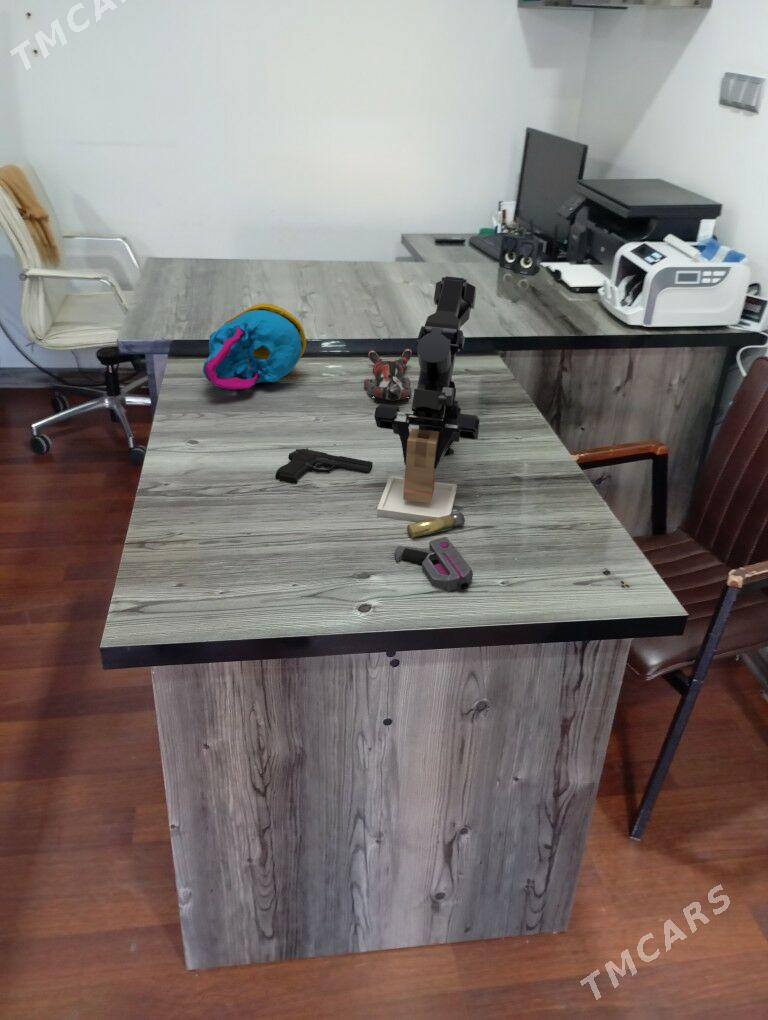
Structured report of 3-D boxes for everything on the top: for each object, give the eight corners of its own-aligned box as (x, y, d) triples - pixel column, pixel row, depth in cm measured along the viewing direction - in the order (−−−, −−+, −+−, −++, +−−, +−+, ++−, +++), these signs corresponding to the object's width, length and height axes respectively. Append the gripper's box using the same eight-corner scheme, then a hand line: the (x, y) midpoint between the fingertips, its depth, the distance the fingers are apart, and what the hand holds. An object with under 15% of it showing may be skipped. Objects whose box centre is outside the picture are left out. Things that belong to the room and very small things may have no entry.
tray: (389, 482, 161) (389, 475, 160) (456, 491, 159) (457, 484, 158) (376, 516, 150) (377, 509, 149) (448, 526, 148) (449, 519, 147)
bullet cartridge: (456, 521, 149) (458, 509, 148) (464, 527, 148) (465, 516, 146) (406, 533, 145) (407, 522, 144) (413, 540, 143) (414, 528, 142)
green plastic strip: (634, 585, 135) (626, 589, 134) (633, 589, 135) (625, 593, 134) (605, 566, 139) (597, 570, 138) (604, 569, 139) (596, 573, 138)
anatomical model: (217, 416, 187) (213, 385, 209) (323, 382, 189) (308, 355, 211) (190, 342, 179) (189, 318, 201) (300, 308, 181) (287, 288, 204)
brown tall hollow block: (407, 486, 156) (411, 428, 150) (434, 489, 155) (439, 431, 149) (402, 499, 152) (407, 440, 145) (430, 503, 151) (436, 444, 145)
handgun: (359, 488, 156) (373, 457, 165) (273, 471, 158) (292, 441, 168) (358, 500, 157) (372, 469, 167) (273, 484, 159) (292, 453, 169)
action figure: (417, 353, 212) (430, 393, 186) (390, 387, 216) (400, 431, 190) (384, 329, 209) (393, 367, 183) (358, 364, 213) (363, 406, 186)
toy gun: (421, 606, 129) (479, 590, 132) (420, 589, 128) (479, 573, 130) (389, 557, 140) (444, 543, 143) (389, 541, 139) (444, 527, 141)
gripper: (378, 361, 146) (363, 445, 142) (485, 373, 144) (472, 459, 140) (384, 386, 157) (370, 465, 153) (483, 398, 154) (471, 478, 151)
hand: (420, 466), depth 149 cm, fingers closed on brown tall hollow block, 5 cm apart
